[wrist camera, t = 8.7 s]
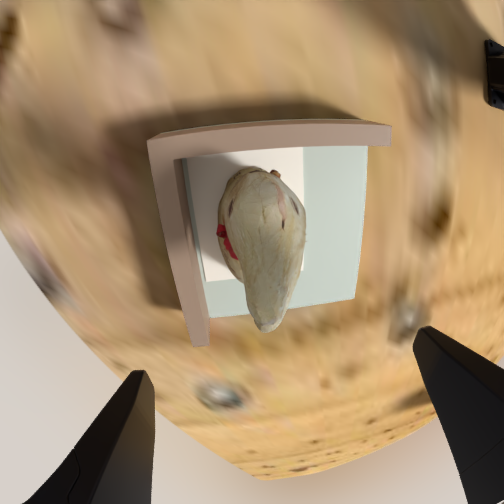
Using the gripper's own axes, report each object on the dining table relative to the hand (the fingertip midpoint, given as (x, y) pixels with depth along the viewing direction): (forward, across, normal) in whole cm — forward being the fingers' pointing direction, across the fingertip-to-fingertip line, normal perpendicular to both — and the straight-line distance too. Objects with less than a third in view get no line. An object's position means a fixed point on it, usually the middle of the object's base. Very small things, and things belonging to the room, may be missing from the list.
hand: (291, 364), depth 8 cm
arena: (+13, -1, +1) cm, 13 cm away
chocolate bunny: (+12, 0, 0) cm, 12 cm away
